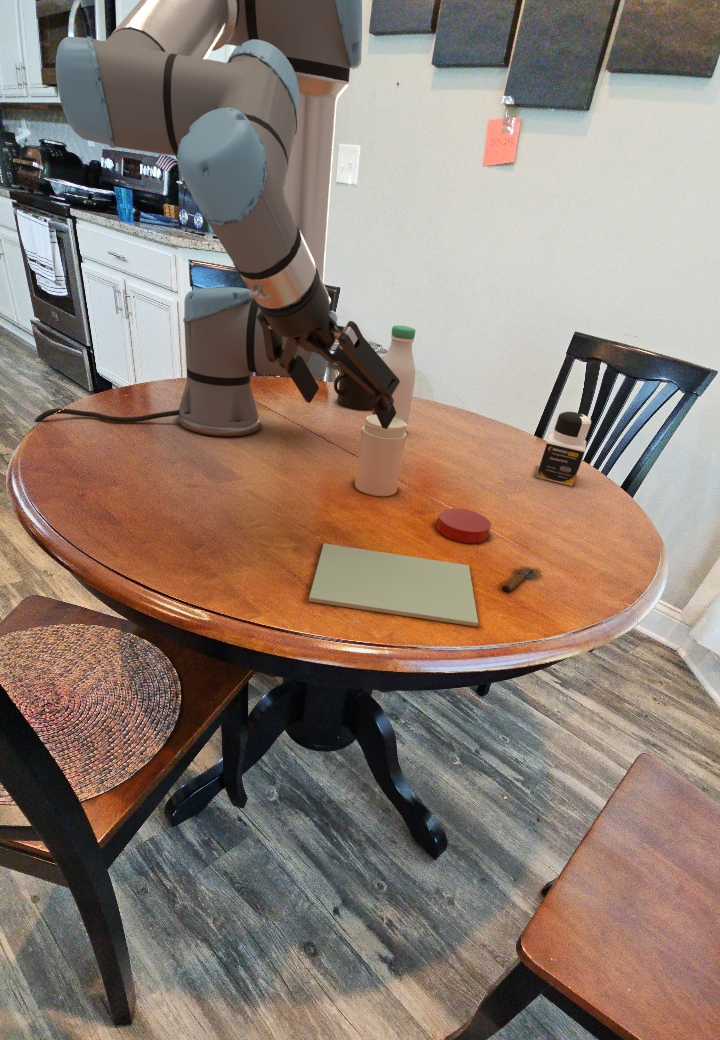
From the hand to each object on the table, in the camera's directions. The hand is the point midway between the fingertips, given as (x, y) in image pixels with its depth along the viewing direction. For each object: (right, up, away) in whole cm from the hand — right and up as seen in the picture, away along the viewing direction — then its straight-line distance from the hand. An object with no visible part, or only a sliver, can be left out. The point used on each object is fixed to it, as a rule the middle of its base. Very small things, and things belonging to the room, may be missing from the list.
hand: (349, 407), depth 83 cm
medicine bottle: (+40, -1, +33) cm, 52 cm away
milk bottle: (+7, +12, +43) cm, 45 cm away
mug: (0, +22, +55) cm, 60 cm away
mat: (+6, -26, -9) cm, 28 cm away
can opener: (+23, -26, -4) cm, 35 cm away
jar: (+4, -7, +16) cm, 18 cm away
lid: (+17, -15, +5) cm, 24 cm away
